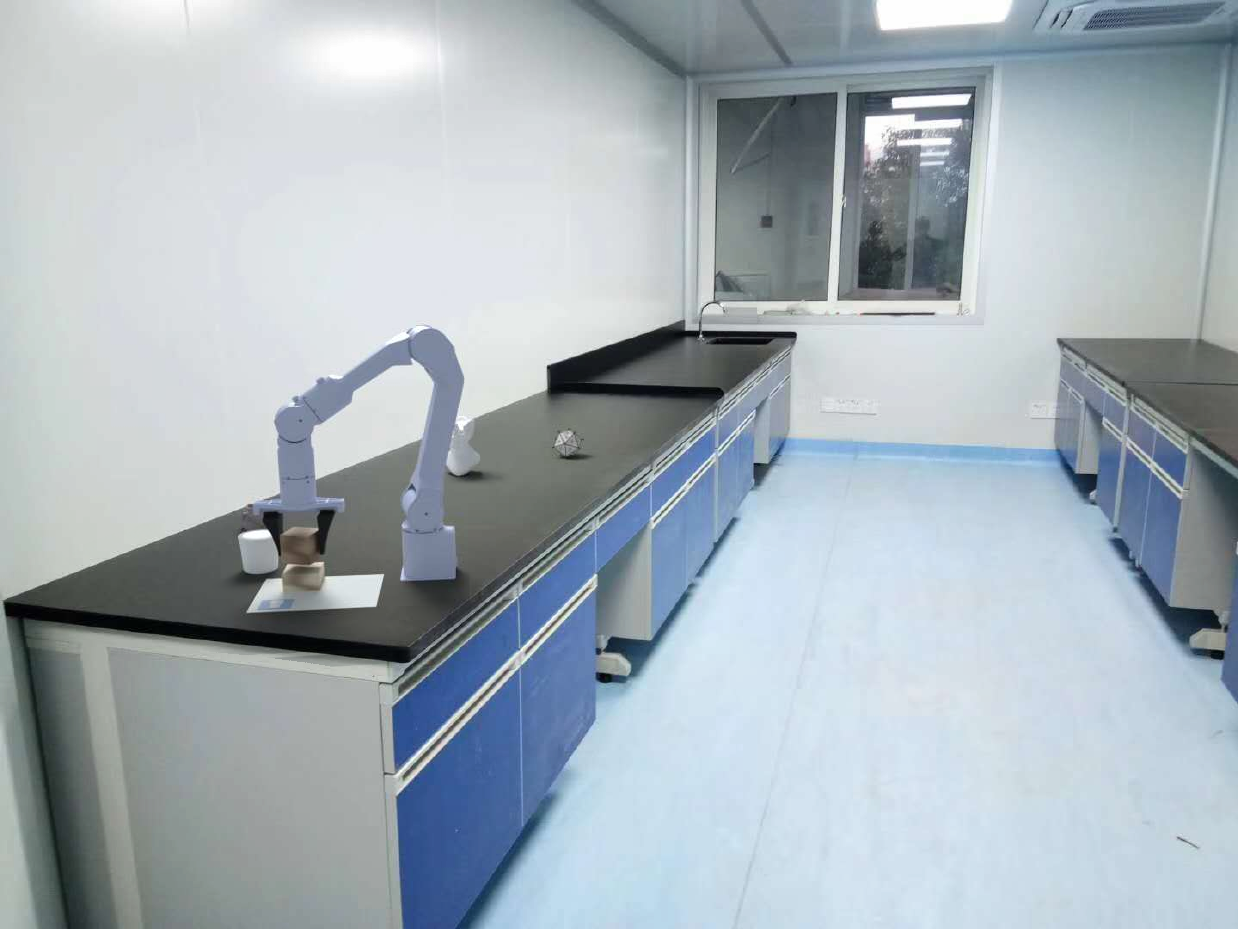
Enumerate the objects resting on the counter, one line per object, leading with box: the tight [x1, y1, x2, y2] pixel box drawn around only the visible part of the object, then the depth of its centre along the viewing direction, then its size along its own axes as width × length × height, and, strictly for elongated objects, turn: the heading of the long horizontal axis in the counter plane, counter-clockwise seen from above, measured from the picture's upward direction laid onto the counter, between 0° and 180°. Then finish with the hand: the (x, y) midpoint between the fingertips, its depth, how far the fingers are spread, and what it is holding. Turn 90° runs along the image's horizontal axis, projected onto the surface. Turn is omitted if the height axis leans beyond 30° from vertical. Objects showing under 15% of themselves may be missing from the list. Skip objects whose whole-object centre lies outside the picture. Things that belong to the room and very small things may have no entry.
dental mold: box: [241, 503, 267, 532], centre depth 197 cm, size 8×7×5 cm
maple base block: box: [281, 561, 326, 592], centre depth 162 cm, size 6×6×3 cm
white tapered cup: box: [237, 529, 279, 575], centre depth 170 cm, size 7×7×7 cm
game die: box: [550, 427, 584, 458], centre depth 268 cm, size 9×8×10 cm
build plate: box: [245, 573, 385, 614], centre depth 159 cm, size 20×16×1 cm
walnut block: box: [280, 526, 324, 565], centre depth 161 cm, size 5×5×5 cm
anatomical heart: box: [446, 415, 481, 477], centre depth 244 cm, size 10×11×15 cm
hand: (302, 553), depth 162 cm, fingers closed on walnut block, 6 cm apart
